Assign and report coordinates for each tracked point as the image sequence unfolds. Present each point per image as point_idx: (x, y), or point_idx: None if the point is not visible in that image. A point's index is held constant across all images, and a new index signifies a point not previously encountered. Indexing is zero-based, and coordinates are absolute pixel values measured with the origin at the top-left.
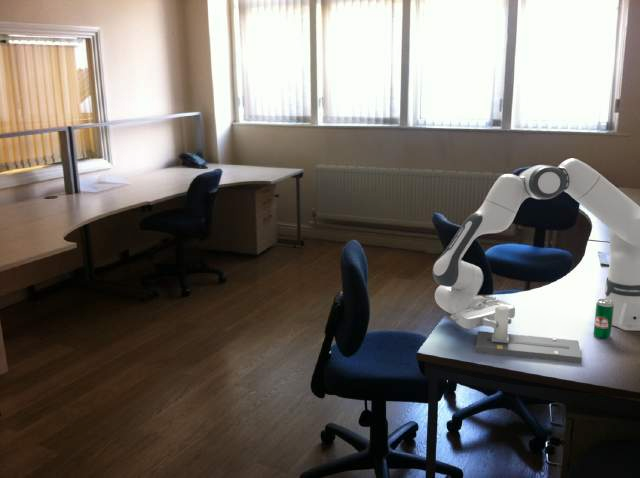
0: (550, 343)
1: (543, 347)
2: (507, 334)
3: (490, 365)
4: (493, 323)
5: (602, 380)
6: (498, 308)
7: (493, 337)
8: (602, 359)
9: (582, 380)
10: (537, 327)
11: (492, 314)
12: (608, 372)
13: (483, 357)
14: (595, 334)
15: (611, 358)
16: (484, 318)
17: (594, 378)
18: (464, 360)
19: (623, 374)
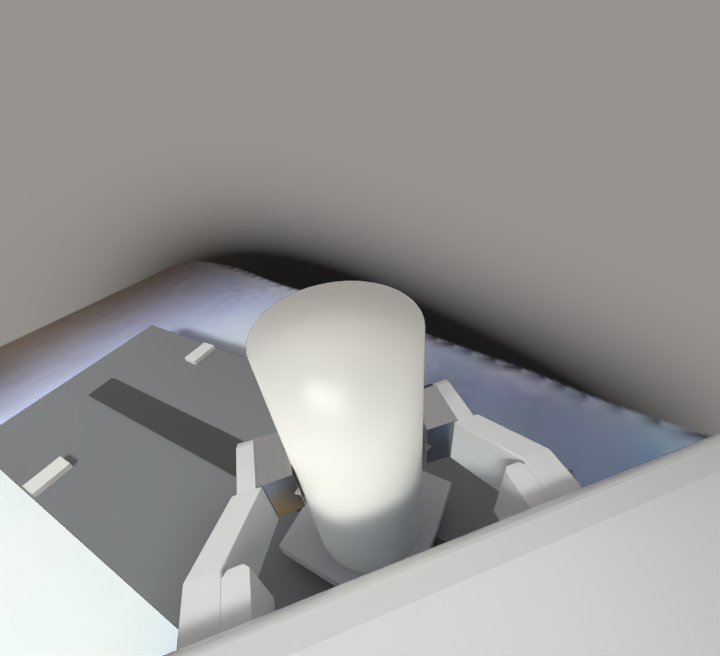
0: (123, 435)
1: (197, 403)
2: (293, 542)
3: (491, 363)
4: (454, 394)
5: (208, 281)
6: (379, 334)
7: (429, 508)
8: (70, 359)
9: (253, 283)
10: None
11: (409, 559)
12: (152, 304)
13: (514, 429)
14: None
15: (37, 361)
16: (547, 479)
17: (216, 288)
18: (624, 414)
19: (131, 296)
